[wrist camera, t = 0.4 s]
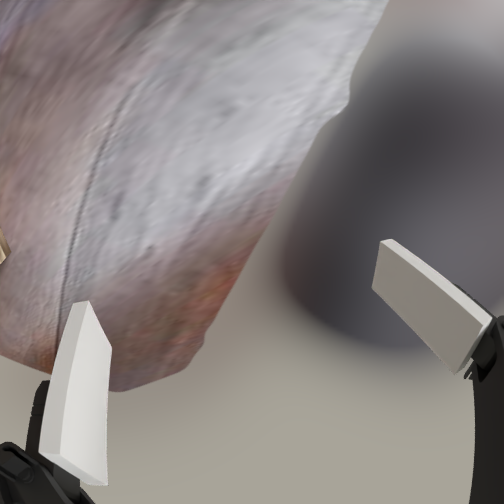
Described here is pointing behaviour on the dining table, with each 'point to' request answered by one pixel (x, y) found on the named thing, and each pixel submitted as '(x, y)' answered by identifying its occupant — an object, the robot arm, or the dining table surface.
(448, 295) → the robot arm
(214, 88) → the dining table surface
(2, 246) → the bore block
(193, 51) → the dining table surface
